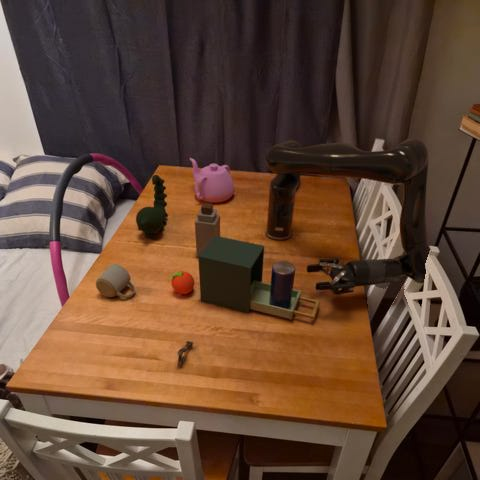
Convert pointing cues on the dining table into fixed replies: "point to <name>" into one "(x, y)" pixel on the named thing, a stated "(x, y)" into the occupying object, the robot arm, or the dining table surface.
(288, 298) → the navy can
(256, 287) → the drawer
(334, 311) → the dining table surface
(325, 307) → the dining table surface
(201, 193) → the teapot
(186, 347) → the dark brown angled piece
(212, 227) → the perfume bottle
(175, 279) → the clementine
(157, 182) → the toy figurine
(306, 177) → the dining table surface
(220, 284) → the cubby
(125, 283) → the ceramic mug
